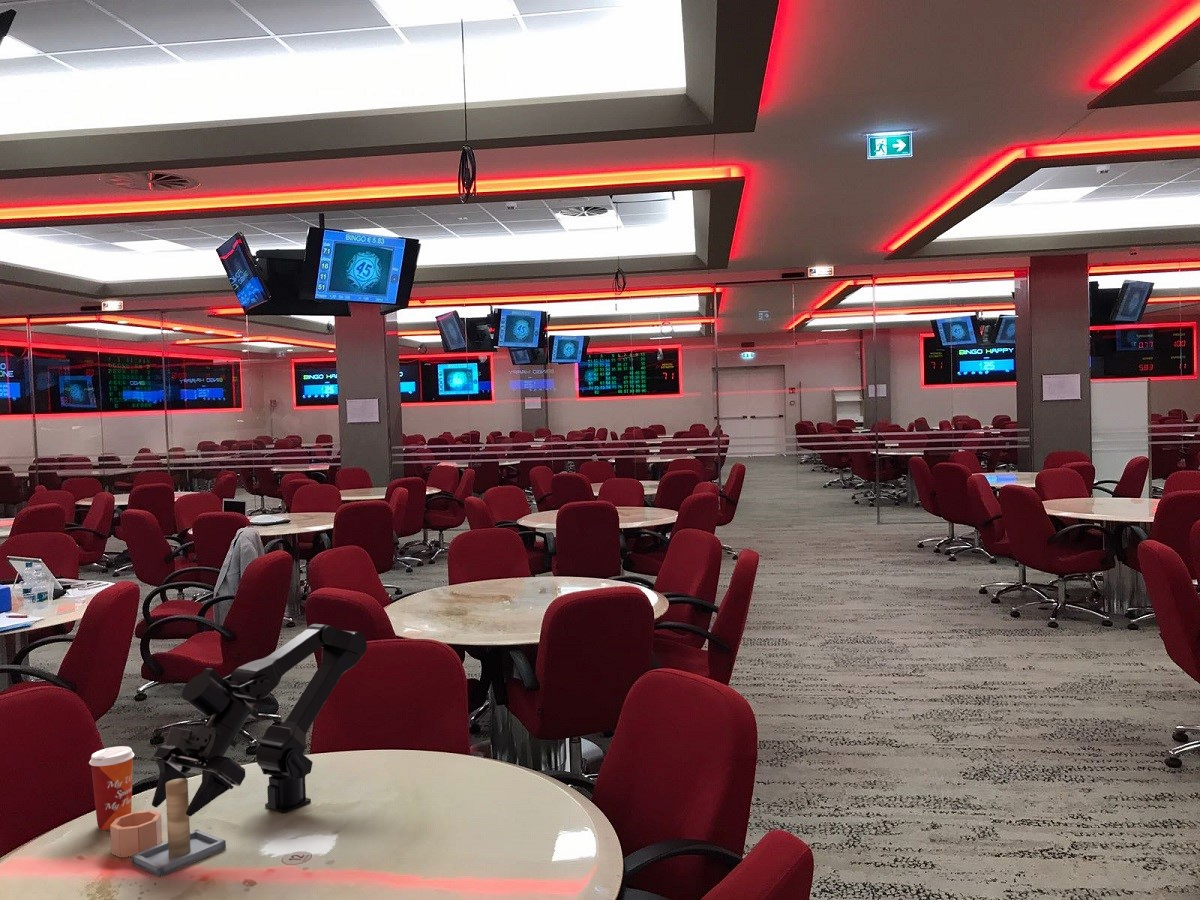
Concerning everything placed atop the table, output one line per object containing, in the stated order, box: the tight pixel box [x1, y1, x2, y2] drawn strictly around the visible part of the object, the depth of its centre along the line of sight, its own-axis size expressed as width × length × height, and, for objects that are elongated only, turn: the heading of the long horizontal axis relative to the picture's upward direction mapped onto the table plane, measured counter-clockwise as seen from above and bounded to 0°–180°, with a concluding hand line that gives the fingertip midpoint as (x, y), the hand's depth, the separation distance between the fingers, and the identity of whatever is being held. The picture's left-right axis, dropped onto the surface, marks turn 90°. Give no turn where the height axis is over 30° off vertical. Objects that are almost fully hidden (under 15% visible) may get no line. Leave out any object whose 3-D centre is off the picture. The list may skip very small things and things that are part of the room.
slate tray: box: [131, 829, 227, 878], centre depth 154 cm, size 12×9×2 cm
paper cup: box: [88, 745, 135, 831], centre depth 169 cm, size 8×8×14 cm
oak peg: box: [165, 778, 191, 858], centre depth 154 cm, size 4×4×12 cm
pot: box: [109, 809, 163, 858], centre depth 158 cm, size 8×8×5 cm
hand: (170, 810), depth 153 cm, fingers open, 9 cm apart
